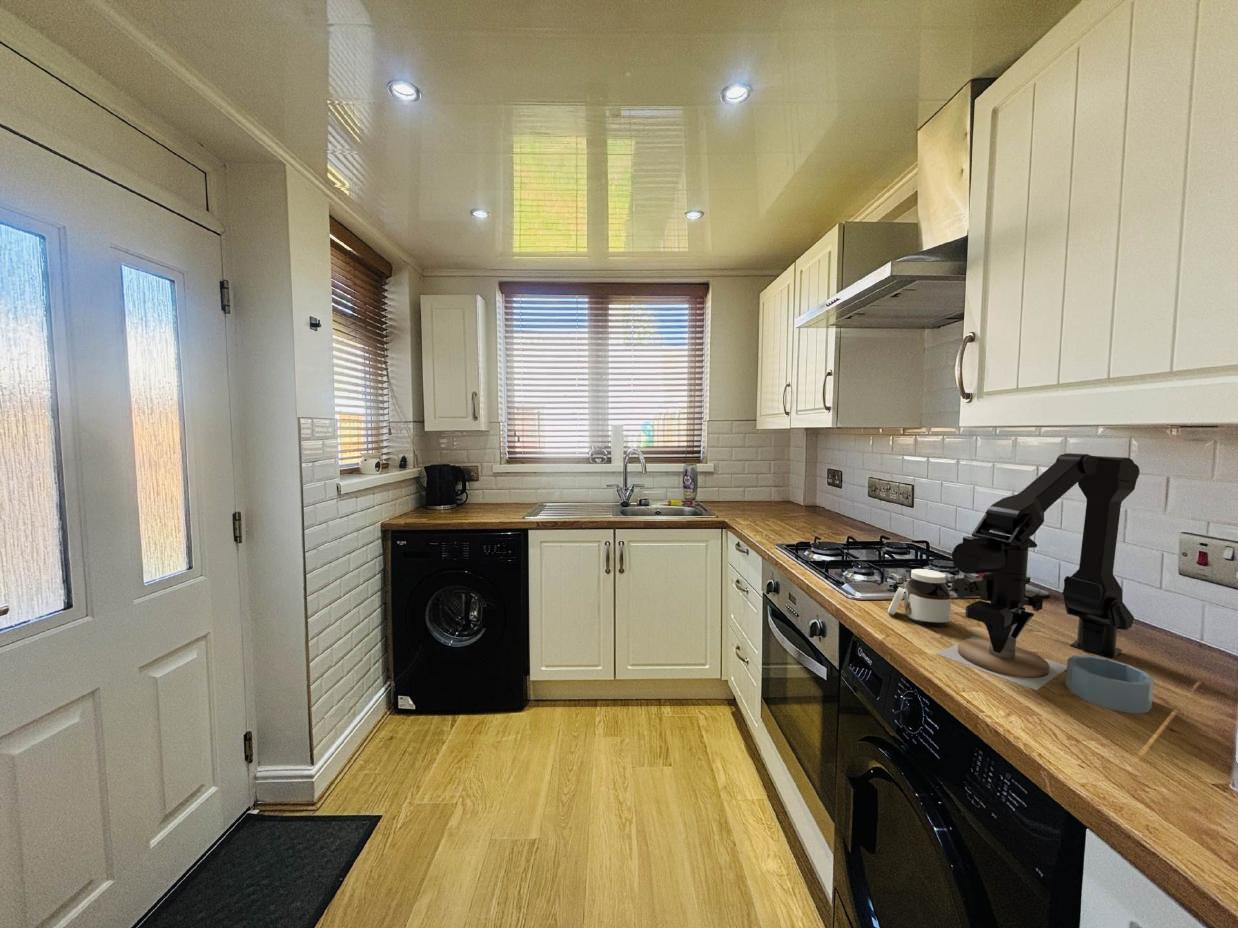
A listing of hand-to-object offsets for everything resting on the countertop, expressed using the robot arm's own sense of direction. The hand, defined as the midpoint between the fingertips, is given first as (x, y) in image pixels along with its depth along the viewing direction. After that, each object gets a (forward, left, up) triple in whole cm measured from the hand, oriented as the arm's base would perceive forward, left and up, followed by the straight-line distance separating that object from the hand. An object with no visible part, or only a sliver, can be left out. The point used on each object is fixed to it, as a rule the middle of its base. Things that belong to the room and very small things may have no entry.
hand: (1002, 649), depth 96 cm
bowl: (0, +15, -2) cm, 15 cm away
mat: (0, 0, -2) cm, 2 cm away
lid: (0, 0, -2) cm, 2 cm away
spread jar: (-8, -20, -3) cm, 22 cm away
